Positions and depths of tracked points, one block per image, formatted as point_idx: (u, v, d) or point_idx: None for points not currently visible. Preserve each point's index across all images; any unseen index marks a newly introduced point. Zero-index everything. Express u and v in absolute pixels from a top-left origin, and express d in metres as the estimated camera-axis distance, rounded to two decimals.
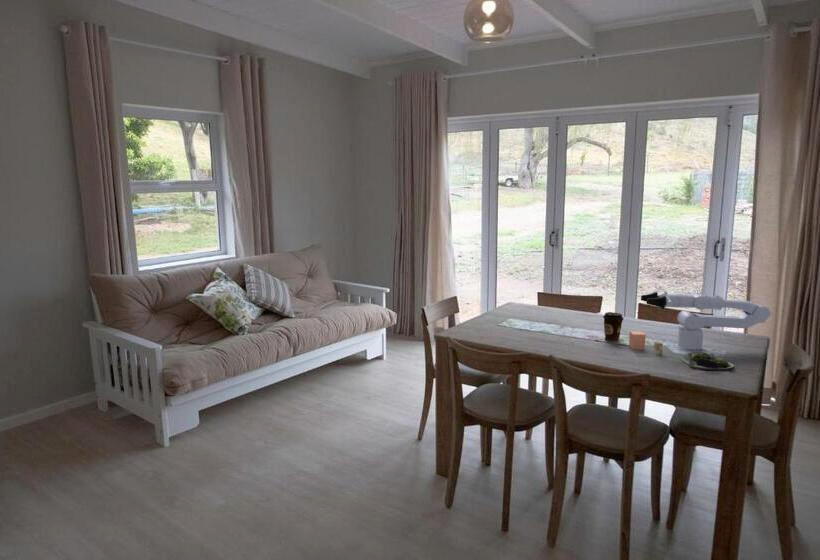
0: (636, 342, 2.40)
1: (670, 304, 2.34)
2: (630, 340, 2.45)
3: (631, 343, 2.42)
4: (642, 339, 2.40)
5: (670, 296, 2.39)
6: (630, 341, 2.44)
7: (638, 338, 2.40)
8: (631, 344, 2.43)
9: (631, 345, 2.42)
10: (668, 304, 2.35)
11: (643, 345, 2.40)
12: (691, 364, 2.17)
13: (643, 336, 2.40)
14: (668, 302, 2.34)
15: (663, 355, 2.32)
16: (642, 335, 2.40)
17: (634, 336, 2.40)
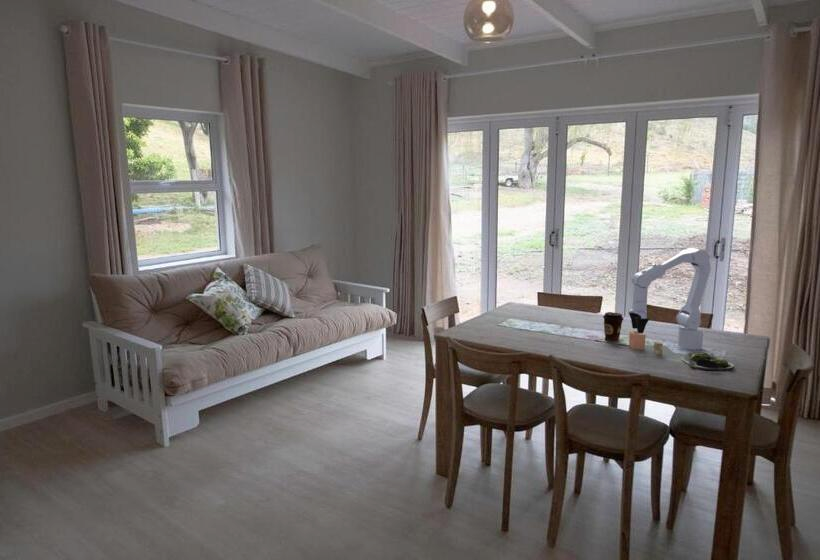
0: (636, 342, 2.40)
1: (644, 315, 2.33)
2: (630, 340, 2.45)
3: (631, 343, 2.42)
4: (642, 339, 2.40)
5: (635, 308, 2.39)
6: (630, 341, 2.44)
7: (638, 338, 2.40)
8: (631, 344, 2.43)
9: (631, 345, 2.42)
10: (644, 317, 2.34)
11: (643, 345, 2.40)
12: (691, 364, 2.17)
13: (643, 336, 2.40)
14: (642, 317, 2.34)
15: (663, 355, 2.32)
16: (642, 335, 2.40)
17: (634, 336, 2.40)
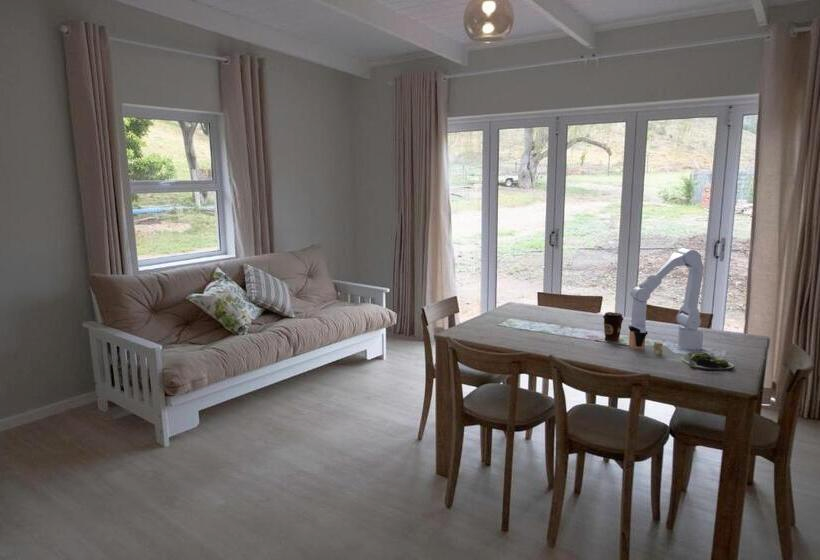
0: None
1: (643, 329, 2.35)
2: (630, 340, 2.45)
3: (631, 343, 2.42)
4: None
5: (634, 322, 2.40)
6: (630, 341, 2.44)
7: None
8: (631, 344, 2.43)
9: (631, 345, 2.42)
10: (643, 331, 2.35)
11: (643, 345, 2.40)
12: (691, 364, 2.17)
13: None
14: (641, 331, 2.35)
15: (663, 355, 2.32)
16: None
17: (634, 336, 2.40)
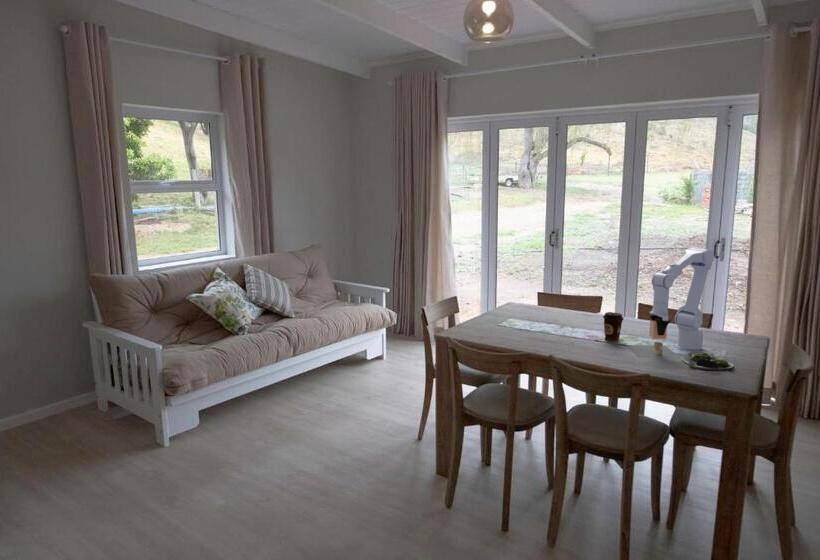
0: None
1: (666, 317, 2.24)
2: (650, 330, 2.34)
3: (652, 333, 2.32)
4: None
5: (656, 310, 2.29)
6: (650, 330, 2.34)
7: None
8: (651, 334, 2.33)
9: (652, 335, 2.32)
10: (666, 319, 2.24)
11: (664, 335, 2.30)
12: (691, 364, 2.17)
13: None
14: (664, 319, 2.24)
15: (663, 355, 2.32)
16: None
17: (655, 325, 2.30)
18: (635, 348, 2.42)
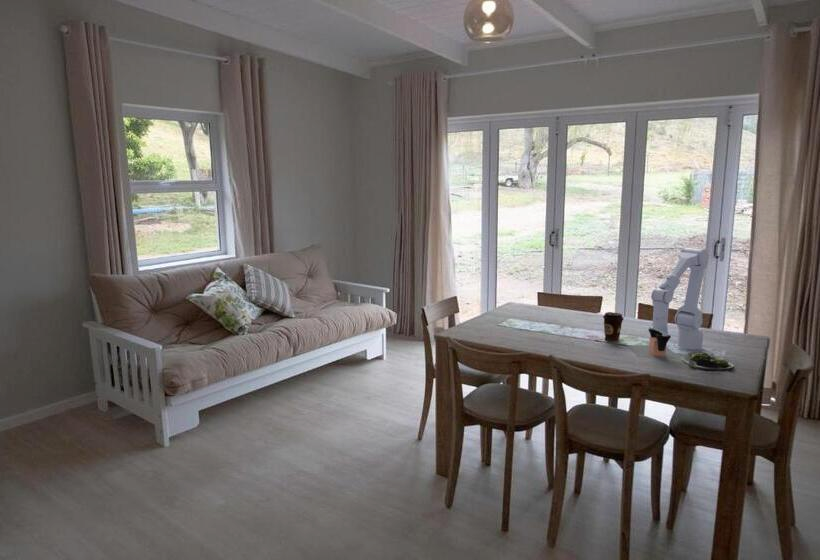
0: (657, 348, 2.31)
1: (666, 332, 2.25)
2: (650, 346, 2.35)
3: (651, 349, 2.33)
4: None
5: (655, 325, 2.30)
6: (650, 347, 2.35)
7: None
8: (651, 351, 2.33)
9: (651, 352, 2.33)
10: (666, 334, 2.25)
11: (664, 352, 2.31)
12: (691, 364, 2.17)
13: None
14: (664, 334, 2.25)
15: None
16: None
17: (655, 342, 2.31)
18: (635, 348, 2.42)
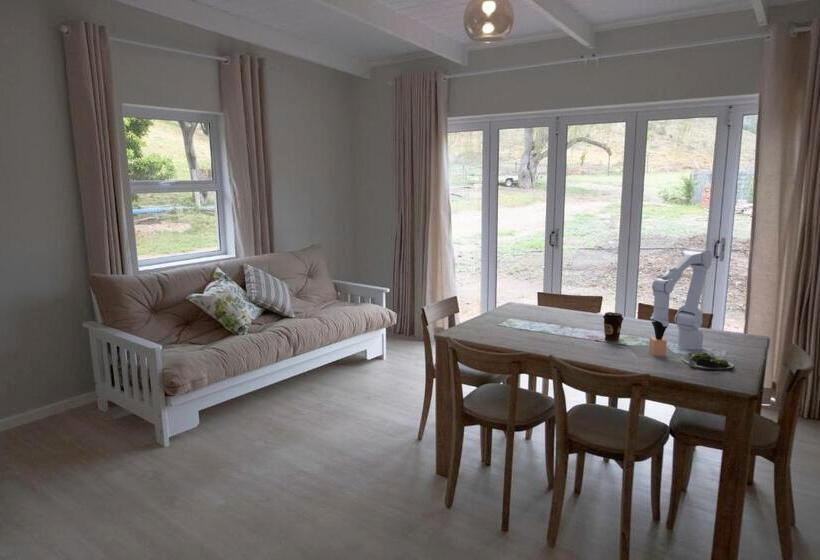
0: (657, 348, 2.31)
1: (667, 323, 2.24)
2: (650, 346, 2.35)
3: (651, 349, 2.33)
4: (663, 345, 2.31)
5: (656, 315, 2.29)
6: (650, 347, 2.35)
7: (659, 344, 2.31)
8: (651, 351, 2.33)
9: (651, 352, 2.33)
10: (666, 325, 2.24)
11: (664, 352, 2.31)
12: (691, 364, 2.17)
13: (664, 342, 2.30)
14: (664, 325, 2.24)
15: None
16: (663, 341, 2.30)
17: (655, 342, 2.31)
18: (635, 348, 2.42)
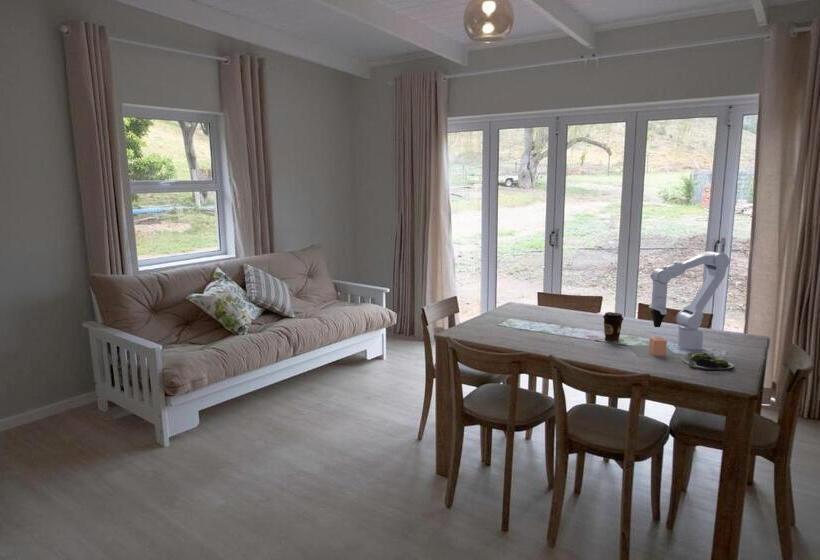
0: (657, 348, 2.31)
1: (664, 311, 2.32)
2: (650, 346, 2.35)
3: (651, 349, 2.33)
4: (663, 345, 2.31)
5: (654, 304, 2.38)
6: (650, 347, 2.35)
7: (659, 344, 2.31)
8: (651, 351, 2.33)
9: (651, 352, 2.33)
10: (664, 313, 2.32)
11: (664, 352, 2.31)
12: (691, 364, 2.17)
13: (664, 342, 2.30)
14: (662, 313, 2.33)
15: None
16: (663, 341, 2.30)
17: (655, 342, 2.31)
18: (635, 348, 2.42)
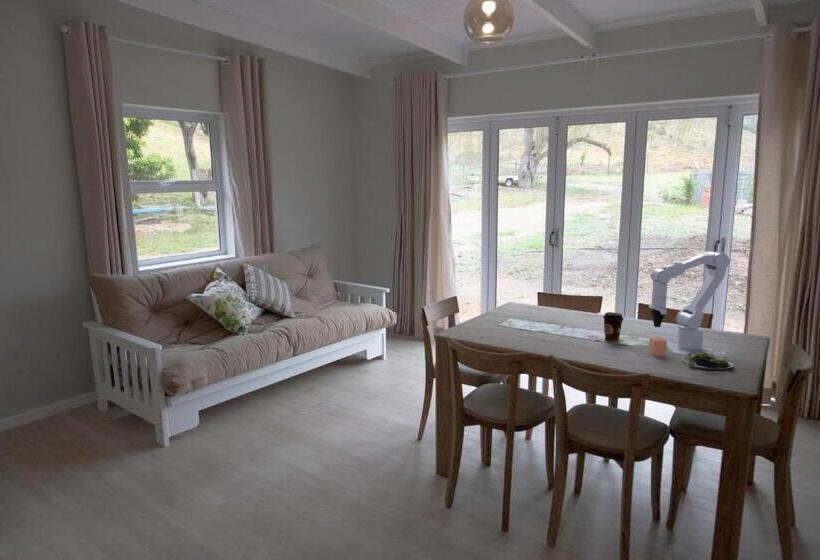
0: (657, 348, 2.31)
1: (664, 311, 2.32)
2: (650, 346, 2.35)
3: (651, 349, 2.33)
4: (663, 345, 2.31)
5: (654, 304, 2.38)
6: (650, 347, 2.35)
7: (659, 344, 2.31)
8: (651, 351, 2.33)
9: (651, 352, 2.33)
10: (664, 313, 2.32)
11: (664, 352, 2.31)
12: (691, 364, 2.17)
13: (664, 342, 2.30)
14: (662, 313, 2.33)
15: None
16: (663, 341, 2.30)
17: (655, 342, 2.31)
18: (635, 348, 2.42)
